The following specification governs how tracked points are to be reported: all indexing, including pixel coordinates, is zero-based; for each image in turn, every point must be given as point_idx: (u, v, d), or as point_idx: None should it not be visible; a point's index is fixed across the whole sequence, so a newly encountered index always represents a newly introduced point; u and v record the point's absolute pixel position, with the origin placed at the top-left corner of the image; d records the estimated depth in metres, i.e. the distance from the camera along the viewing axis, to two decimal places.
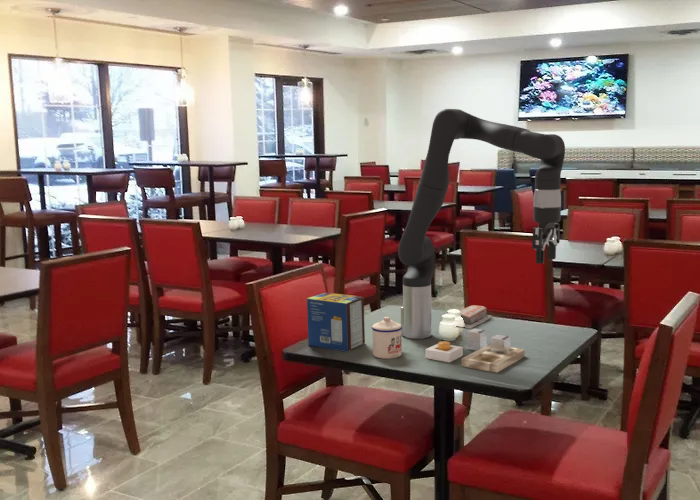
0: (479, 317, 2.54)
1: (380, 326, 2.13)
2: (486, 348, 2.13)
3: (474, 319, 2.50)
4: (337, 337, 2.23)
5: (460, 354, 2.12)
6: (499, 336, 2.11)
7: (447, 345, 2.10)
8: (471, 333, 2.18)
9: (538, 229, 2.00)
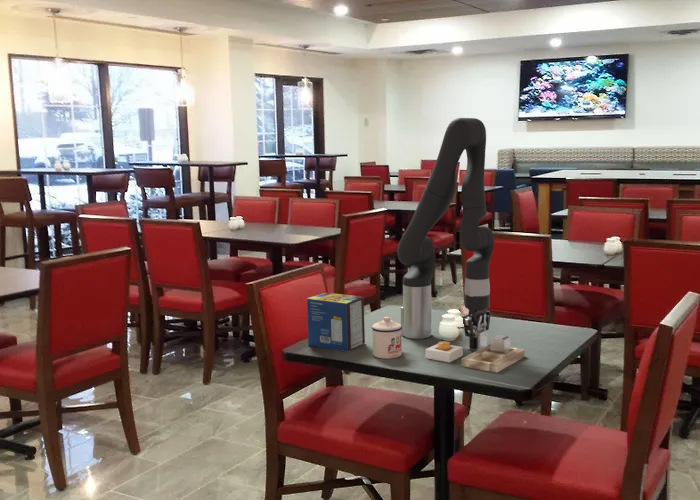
0: None
1: (380, 326, 2.13)
2: (486, 348, 2.13)
3: None
4: (337, 337, 2.23)
5: (460, 354, 2.12)
6: (499, 336, 2.11)
7: (447, 345, 2.10)
8: None
9: (468, 321, 2.13)
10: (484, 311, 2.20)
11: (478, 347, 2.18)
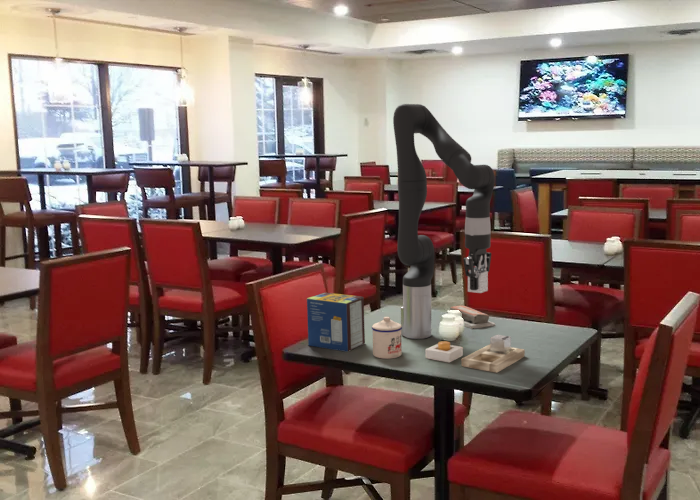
0: None
1: (380, 326, 2.13)
2: (486, 348, 2.13)
3: None
4: (337, 337, 2.23)
5: (460, 354, 2.12)
6: (499, 336, 2.11)
7: (447, 345, 2.10)
8: None
9: (468, 260, 2.10)
10: (485, 252, 2.17)
11: (479, 288, 2.14)
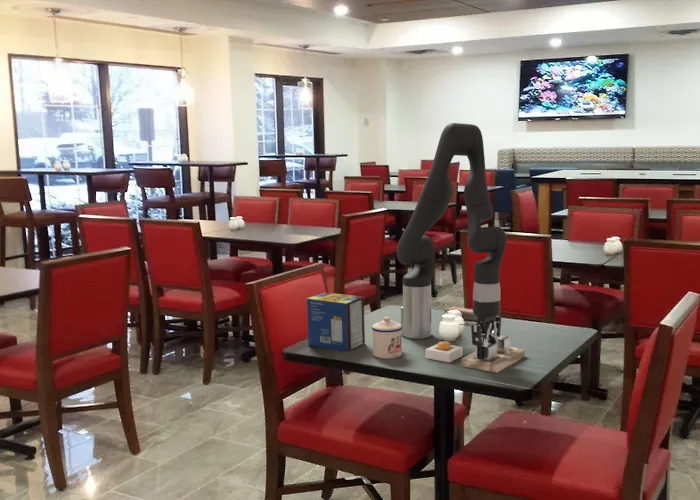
0: None
1: (380, 326, 2.13)
2: None
3: None
4: (337, 337, 2.23)
5: (460, 354, 2.12)
6: None
7: (447, 345, 2.10)
8: None
9: (476, 327, 1.96)
10: (494, 318, 2.03)
11: None
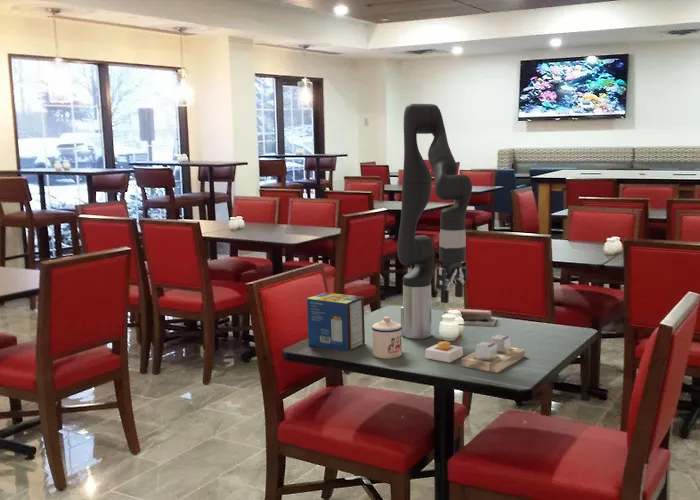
0: None
1: (380, 326, 2.13)
2: None
3: None
4: (337, 337, 2.23)
5: (460, 354, 2.12)
6: (499, 336, 2.11)
7: (447, 345, 2.10)
8: (480, 347, 2.02)
9: (442, 269, 2.02)
10: (459, 265, 2.09)
11: None
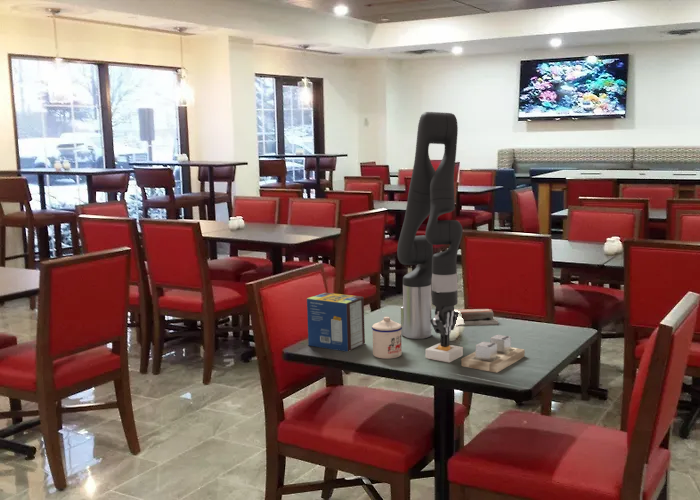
0: None
1: (380, 326, 2.13)
2: None
3: None
4: (337, 337, 2.23)
5: (460, 354, 2.12)
6: (499, 336, 2.11)
7: (447, 348, 2.11)
8: (480, 347, 2.02)
9: (435, 322, 2.06)
10: (452, 307, 2.12)
11: None
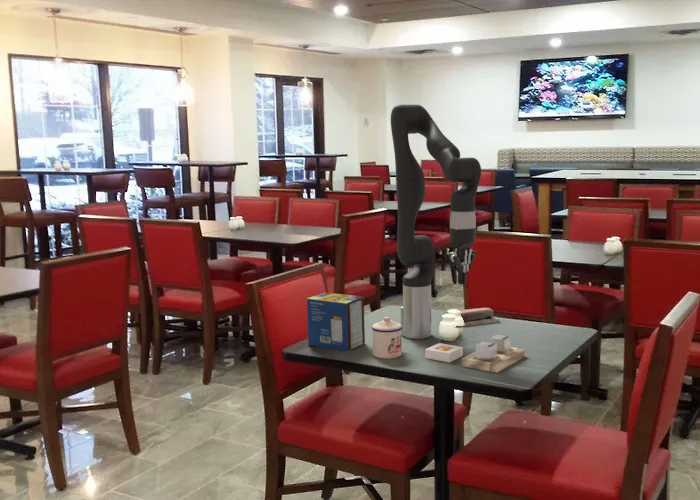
0: None
1: (380, 326, 2.13)
2: None
3: None
4: (337, 337, 2.23)
5: (460, 354, 2.12)
6: (499, 336, 2.11)
7: (447, 350, 2.11)
8: (480, 347, 2.02)
9: (453, 258, 2.07)
10: (470, 246, 2.13)
11: None
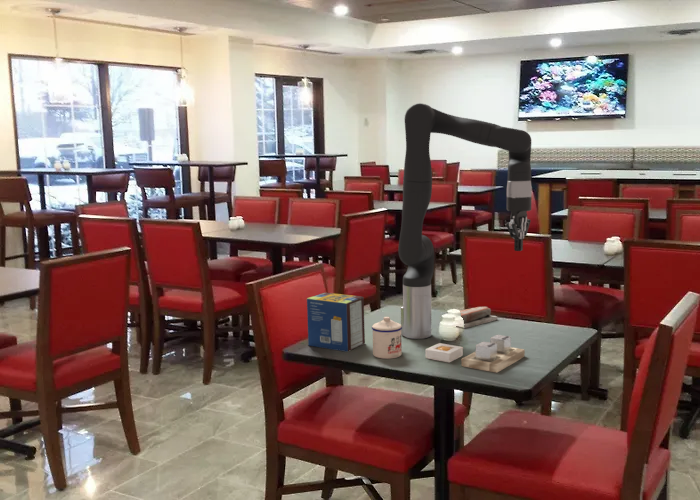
0: None
1: (380, 326, 2.13)
2: None
3: None
4: (337, 337, 2.23)
5: (460, 354, 2.12)
6: (499, 336, 2.11)
7: (447, 350, 2.11)
8: (480, 347, 2.02)
9: (511, 225, 2.19)
10: (525, 214, 2.25)
11: None
